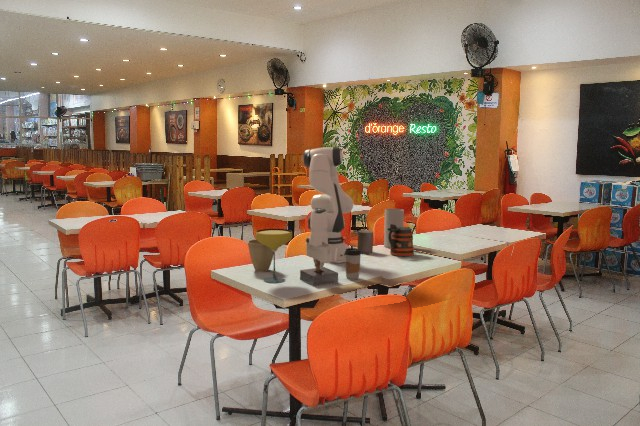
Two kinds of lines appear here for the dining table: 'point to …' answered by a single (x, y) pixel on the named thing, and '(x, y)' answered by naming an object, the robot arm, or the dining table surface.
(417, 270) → the dining table surface
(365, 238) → the pillar candle
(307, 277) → the nut block
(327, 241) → the robot arm
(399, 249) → the beer stein
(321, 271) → the walnut pin
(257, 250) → the plant pot
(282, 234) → the cocktail glass
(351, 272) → the coffee cup
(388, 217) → the cylinder vase
